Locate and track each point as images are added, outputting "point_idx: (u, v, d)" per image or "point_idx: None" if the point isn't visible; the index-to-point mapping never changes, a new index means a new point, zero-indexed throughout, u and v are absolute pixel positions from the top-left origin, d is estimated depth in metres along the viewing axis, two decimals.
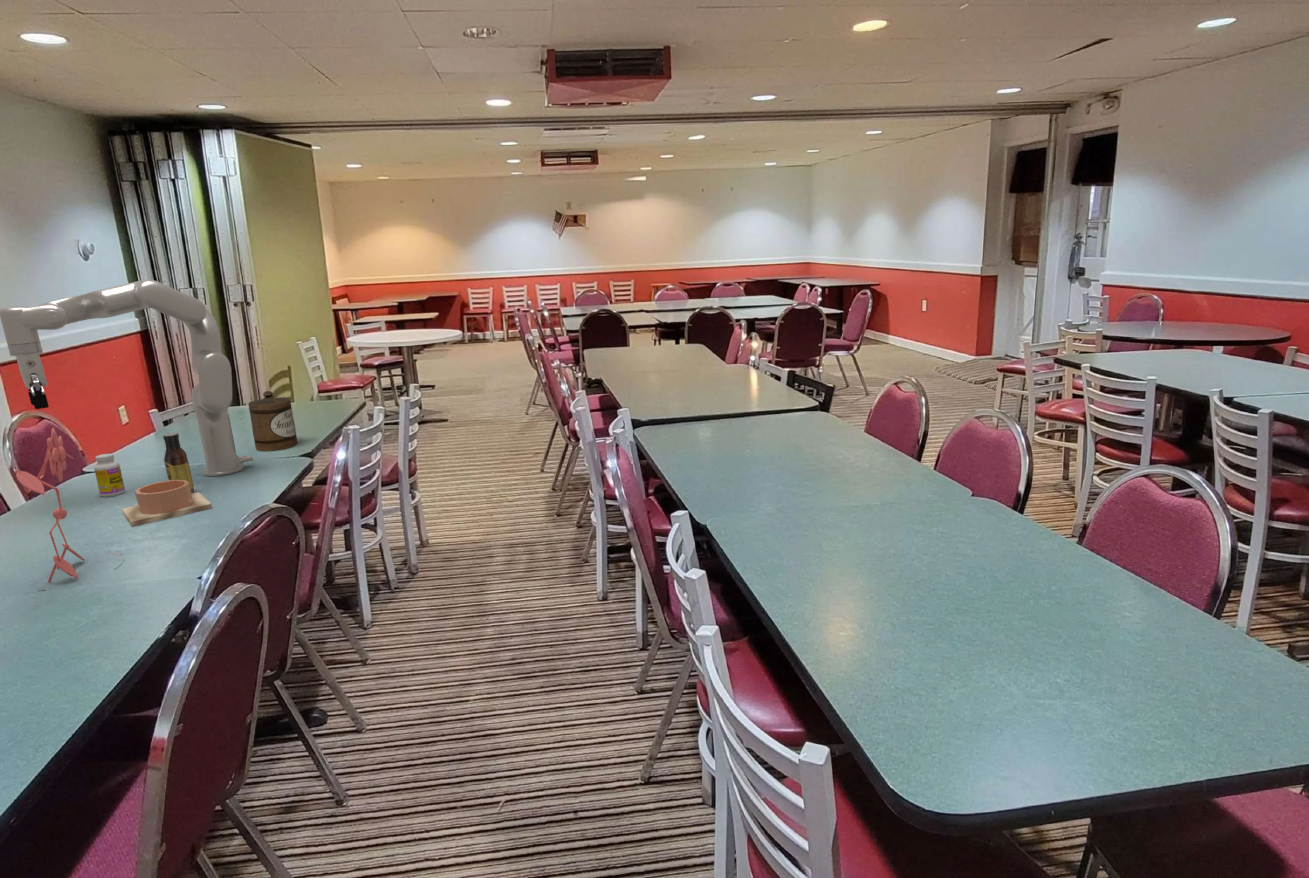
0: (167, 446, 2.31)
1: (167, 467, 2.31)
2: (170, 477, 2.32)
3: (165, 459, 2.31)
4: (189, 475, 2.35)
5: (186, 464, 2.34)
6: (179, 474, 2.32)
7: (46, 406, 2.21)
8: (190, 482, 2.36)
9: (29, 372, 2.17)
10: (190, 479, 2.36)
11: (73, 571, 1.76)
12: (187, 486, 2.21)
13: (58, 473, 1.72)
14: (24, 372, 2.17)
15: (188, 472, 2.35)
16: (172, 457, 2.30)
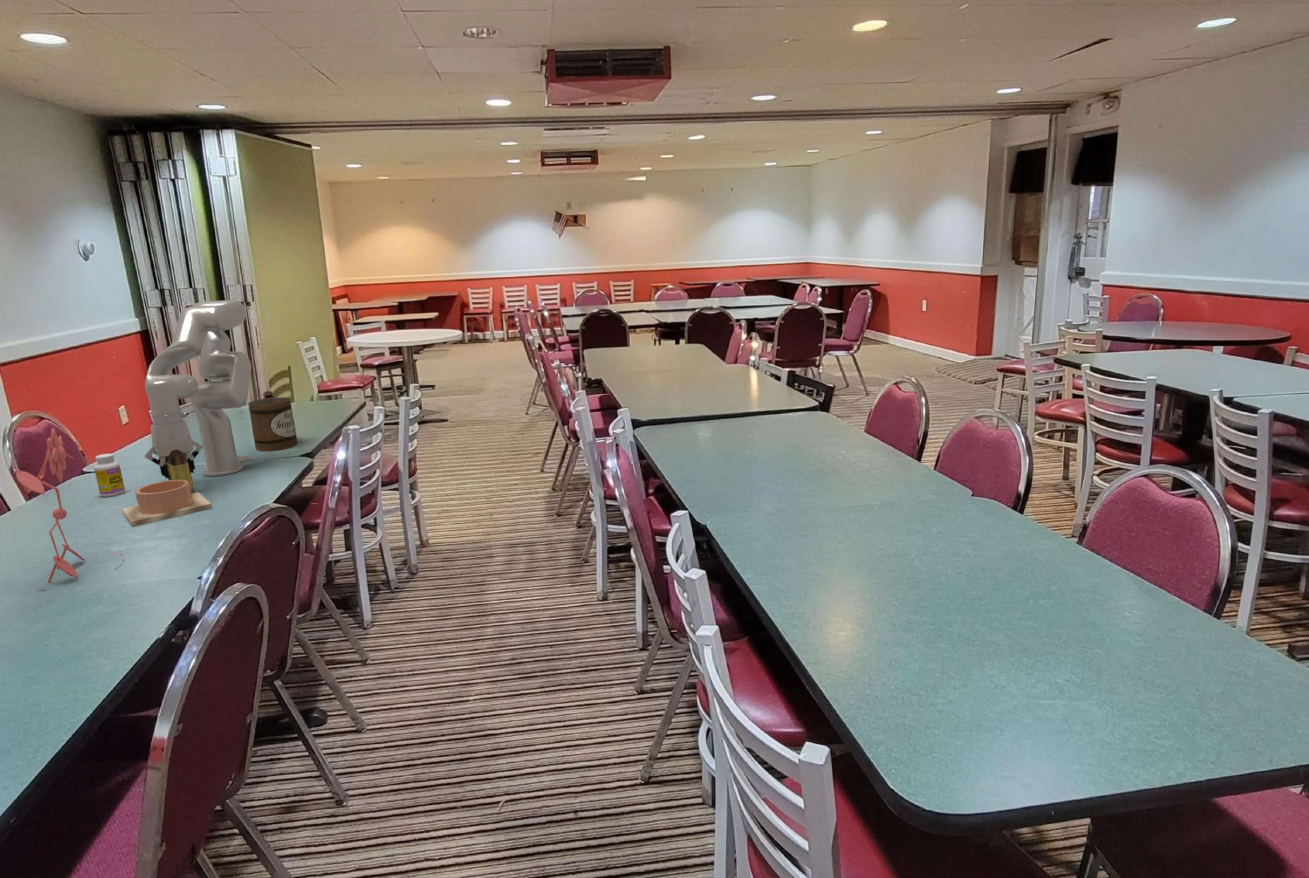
0: None
1: (167, 467, 2.31)
2: (170, 477, 2.32)
3: (165, 459, 2.31)
4: (189, 475, 2.35)
5: (186, 464, 2.34)
6: (179, 474, 2.32)
7: None
8: (190, 482, 2.36)
9: (190, 436, 2.35)
10: (190, 479, 2.36)
11: (73, 571, 1.76)
12: (187, 486, 2.21)
13: (58, 473, 1.72)
14: (189, 436, 2.34)
15: (188, 472, 2.35)
16: (172, 457, 2.30)
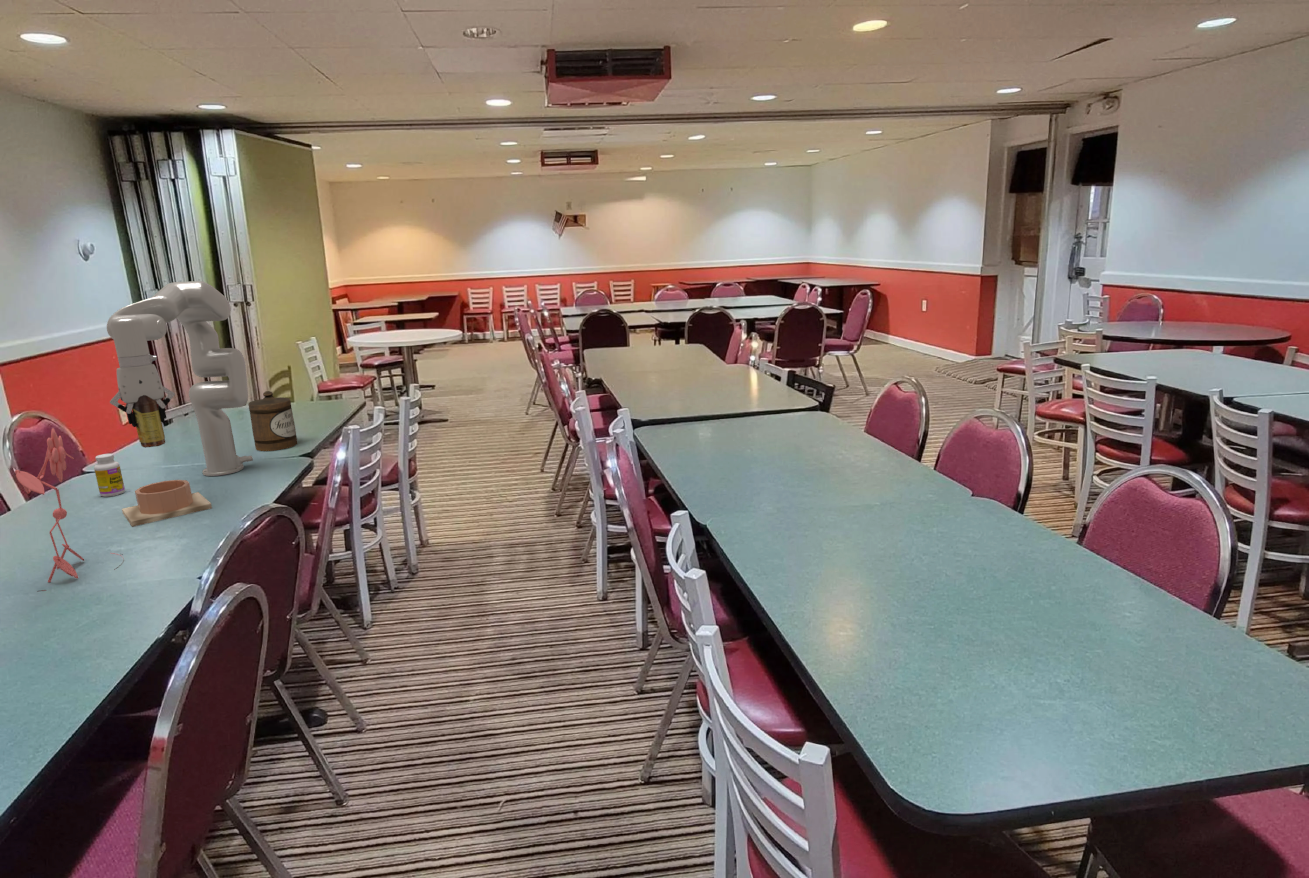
0: None
1: (135, 414, 2.11)
2: (138, 426, 2.12)
3: (133, 406, 2.11)
4: (160, 424, 2.15)
5: (156, 412, 2.14)
6: (148, 422, 2.12)
7: None
8: (161, 432, 2.15)
9: (160, 381, 2.14)
10: (161, 429, 2.15)
11: (73, 571, 1.76)
12: (187, 486, 2.21)
13: (58, 473, 1.72)
14: (160, 381, 2.13)
15: (158, 421, 2.14)
16: (140, 403, 2.10)
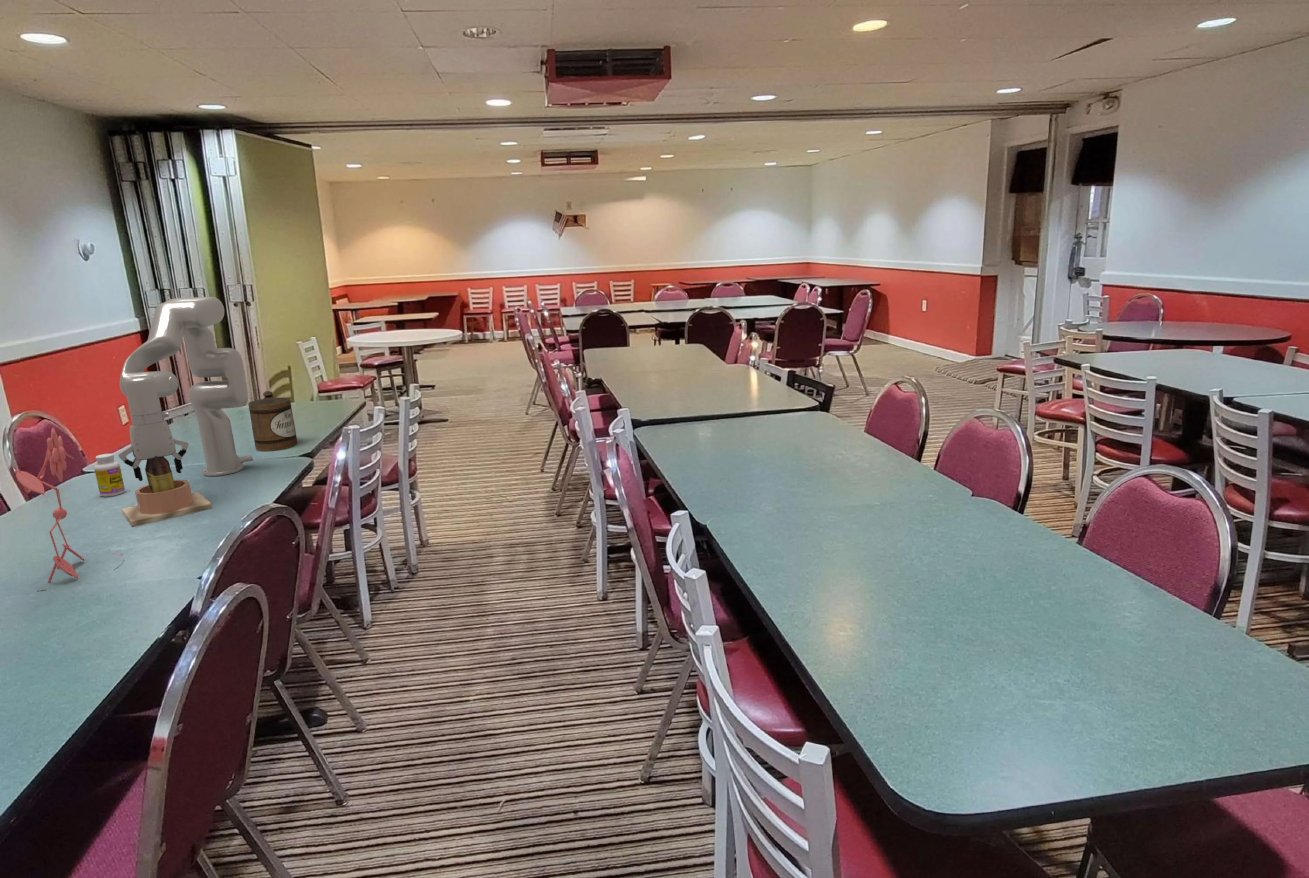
0: None
1: (149, 477, 2.16)
2: (152, 488, 2.17)
3: (146, 469, 2.16)
4: (172, 485, 2.20)
5: (169, 474, 2.18)
6: (161, 484, 2.17)
7: None
8: None
9: (172, 437, 2.19)
10: None
11: (73, 571, 1.76)
12: (187, 486, 2.21)
13: (58, 473, 1.72)
14: (172, 437, 2.18)
15: (171, 482, 2.19)
16: (154, 466, 2.15)
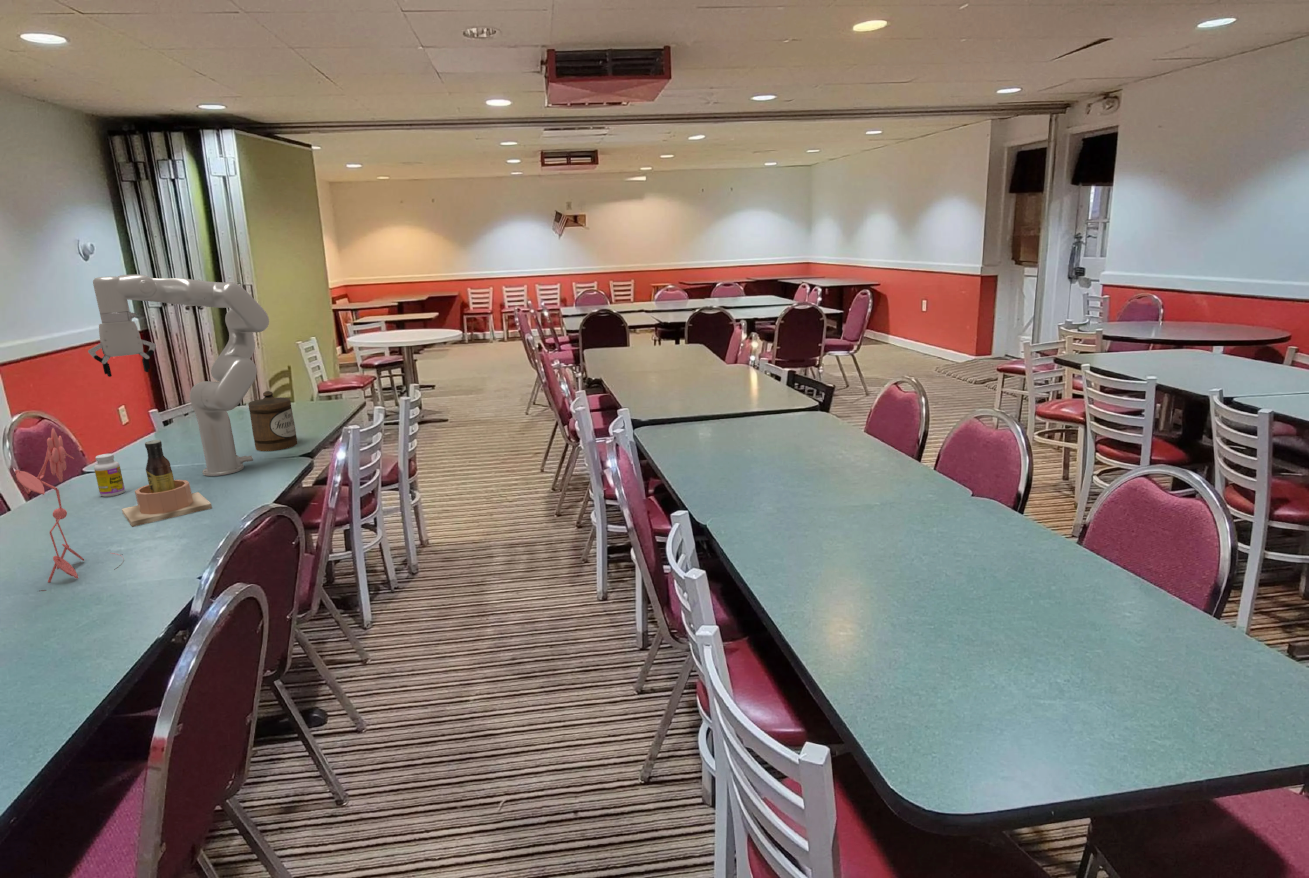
0: (149, 455, 2.15)
1: (149, 477, 2.16)
2: (152, 488, 2.17)
3: (147, 468, 2.16)
4: (173, 485, 2.20)
5: (170, 474, 2.18)
6: (162, 484, 2.17)
7: None
8: None
9: None
10: None
11: (73, 571, 1.76)
12: (187, 486, 2.21)
13: (58, 473, 1.72)
14: (139, 337, 2.30)
15: (172, 482, 2.19)
16: (155, 466, 2.15)
